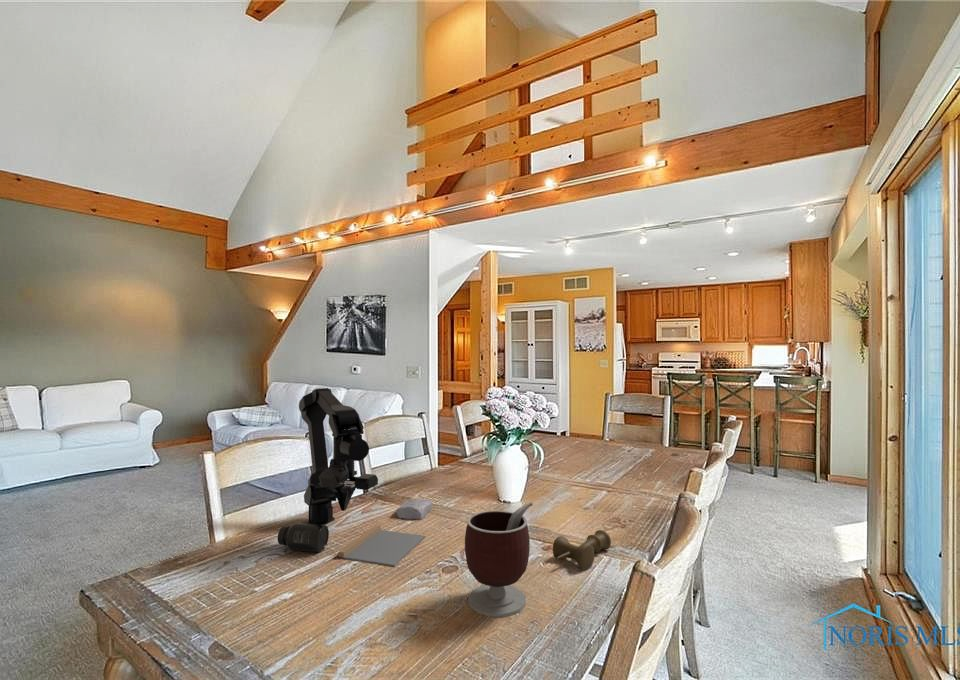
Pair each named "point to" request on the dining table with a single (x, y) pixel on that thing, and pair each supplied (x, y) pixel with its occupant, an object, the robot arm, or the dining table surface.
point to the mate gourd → (497, 560)
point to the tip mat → (381, 546)
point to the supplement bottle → (304, 537)
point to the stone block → (414, 508)
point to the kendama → (581, 548)
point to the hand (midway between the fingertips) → (343, 510)
